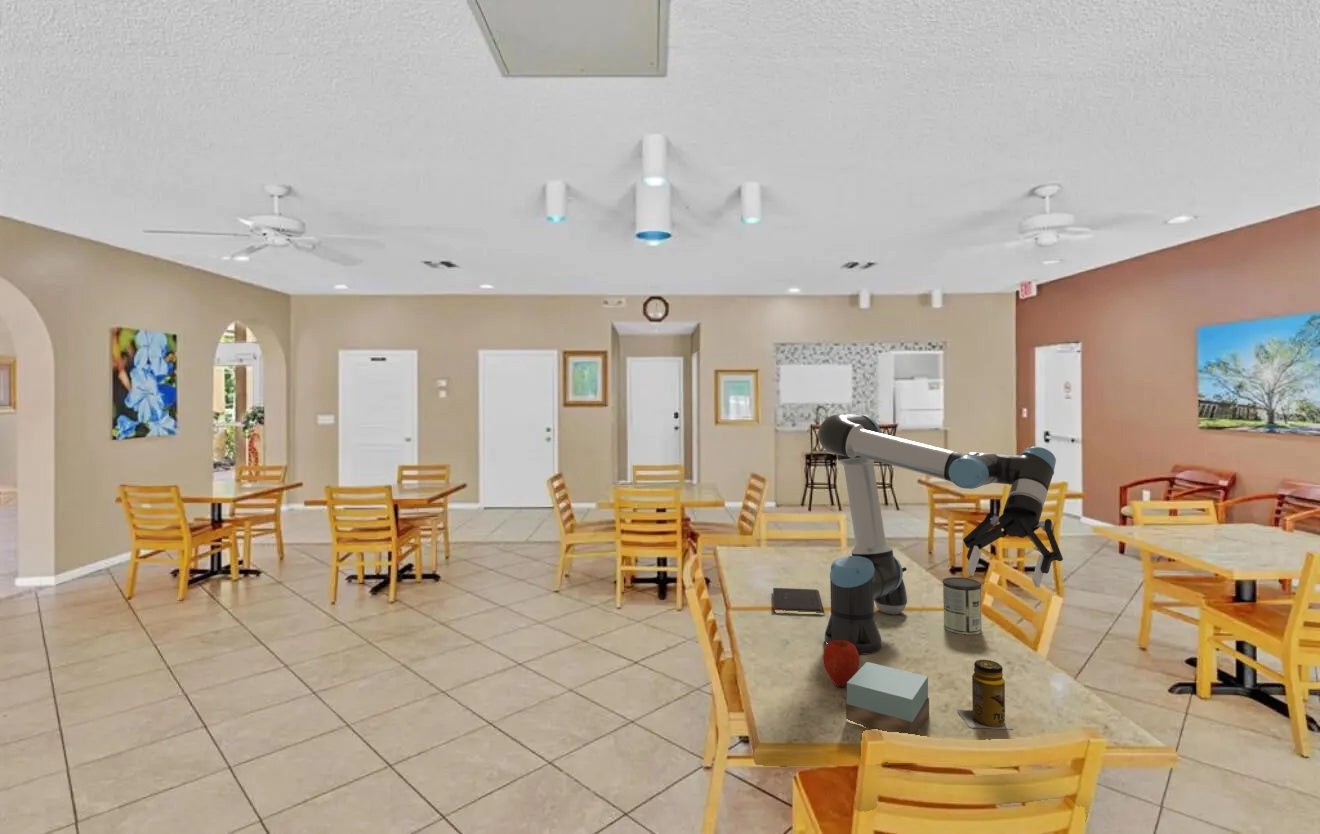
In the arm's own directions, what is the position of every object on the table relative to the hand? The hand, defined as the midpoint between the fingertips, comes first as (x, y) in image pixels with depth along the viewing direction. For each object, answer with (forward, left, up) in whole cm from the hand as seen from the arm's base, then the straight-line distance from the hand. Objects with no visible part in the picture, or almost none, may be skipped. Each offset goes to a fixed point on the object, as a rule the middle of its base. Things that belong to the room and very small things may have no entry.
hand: (1001, 578), depth 136 cm
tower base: (-18, -23, -28) cm, 40 cm away
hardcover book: (-69, +37, -29) cm, 83 cm away
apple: (-32, -14, -28) cm, 44 cm away
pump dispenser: (-41, +47, -28) cm, 68 cm away
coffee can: (-19, +44, -28) cm, 56 cm away
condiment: (-2, -11, -28) cm, 30 cm away
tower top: (-17, -23, -24) cm, 37 cm away
